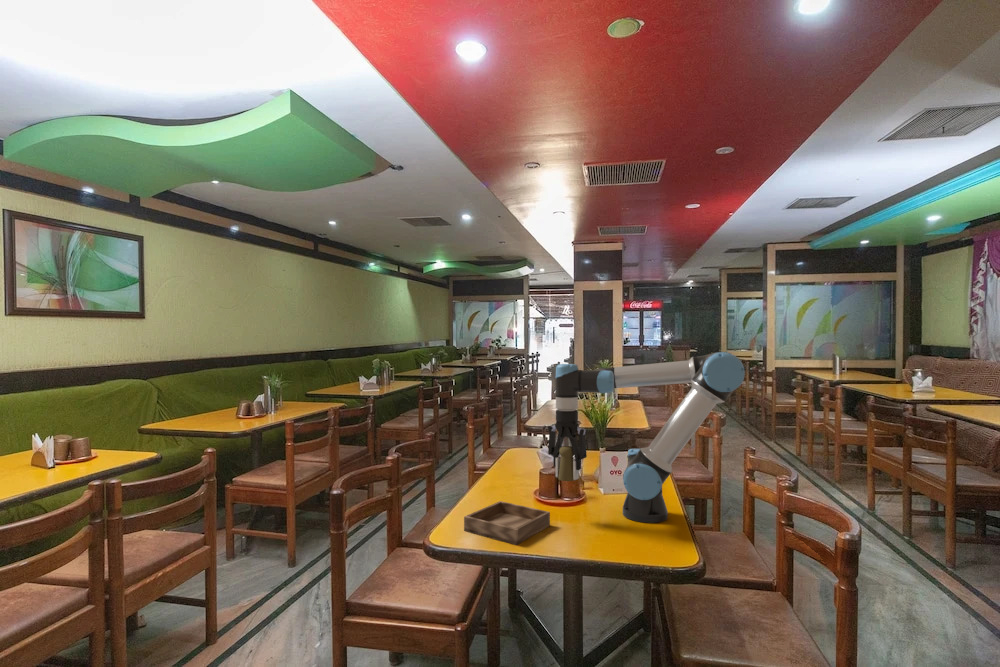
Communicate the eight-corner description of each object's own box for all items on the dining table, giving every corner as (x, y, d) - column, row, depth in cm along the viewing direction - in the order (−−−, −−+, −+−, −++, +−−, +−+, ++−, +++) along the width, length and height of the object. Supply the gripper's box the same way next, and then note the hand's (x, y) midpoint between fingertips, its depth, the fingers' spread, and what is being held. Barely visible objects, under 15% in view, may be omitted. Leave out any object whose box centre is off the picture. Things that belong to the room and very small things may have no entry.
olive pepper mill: (556, 480, 172) (556, 447, 173) (560, 475, 178) (560, 444, 178) (574, 481, 170) (573, 448, 170) (577, 477, 176) (577, 445, 176)
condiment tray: (549, 525, 169) (549, 512, 169) (516, 545, 152) (516, 530, 152) (500, 513, 180) (500, 501, 180) (464, 530, 164) (464, 516, 164)
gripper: (597, 410, 172) (597, 479, 172) (548, 406, 183) (548, 471, 183) (587, 412, 166) (587, 484, 166) (537, 408, 177) (537, 475, 177)
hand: (567, 477), depth 174 cm, fingers closed on olive pepper mill, 6 cm apart
